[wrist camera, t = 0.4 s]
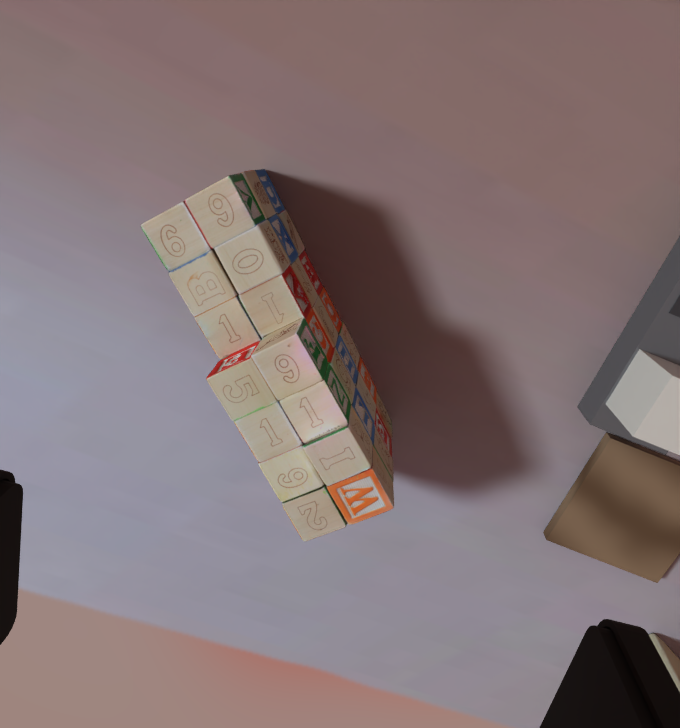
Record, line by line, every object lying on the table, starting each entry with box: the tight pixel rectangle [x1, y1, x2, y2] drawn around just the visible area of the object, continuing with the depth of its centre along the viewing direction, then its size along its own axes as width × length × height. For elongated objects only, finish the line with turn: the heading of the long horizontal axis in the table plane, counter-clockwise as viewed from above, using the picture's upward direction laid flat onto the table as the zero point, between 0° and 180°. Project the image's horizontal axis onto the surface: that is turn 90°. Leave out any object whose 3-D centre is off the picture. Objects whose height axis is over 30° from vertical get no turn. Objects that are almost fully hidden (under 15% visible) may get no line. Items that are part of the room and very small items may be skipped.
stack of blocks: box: [141, 169, 394, 541], centre depth 39 cm, size 21×6×12 cm, turn 26°
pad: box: [543, 432, 680, 583], centre depth 47 cm, size 10×10×1 cm
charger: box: [606, 349, 680, 455], centre depth 39 cm, size 4×6×7 cm
